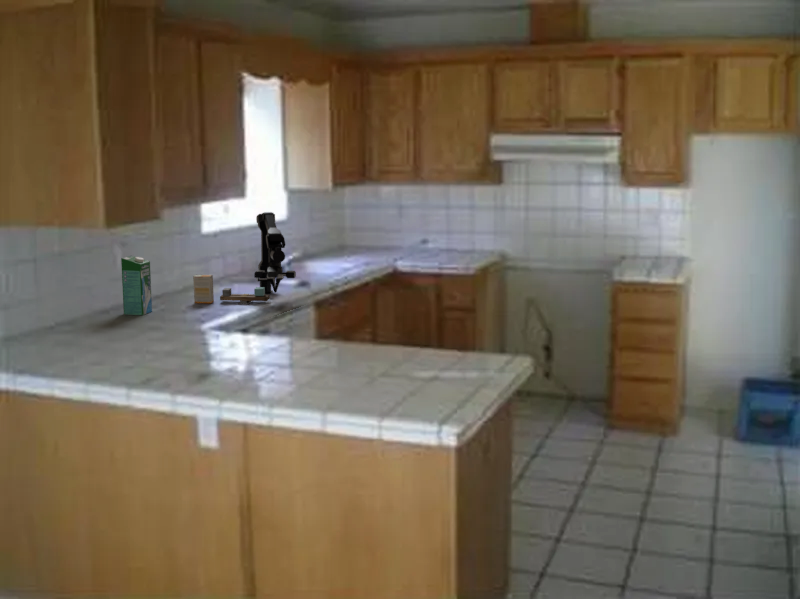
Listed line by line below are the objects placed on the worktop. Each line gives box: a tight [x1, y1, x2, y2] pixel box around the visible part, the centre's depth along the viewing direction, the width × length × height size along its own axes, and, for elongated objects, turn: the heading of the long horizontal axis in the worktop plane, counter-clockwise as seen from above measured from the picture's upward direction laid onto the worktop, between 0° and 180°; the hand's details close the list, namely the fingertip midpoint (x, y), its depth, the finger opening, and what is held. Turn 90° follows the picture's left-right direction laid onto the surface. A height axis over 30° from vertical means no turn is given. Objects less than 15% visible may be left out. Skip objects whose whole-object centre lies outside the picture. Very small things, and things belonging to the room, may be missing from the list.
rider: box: [254, 286, 266, 296], centre depth 432 cm, size 5×4×5 cm
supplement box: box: [192, 274, 215, 305], centre depth 431 cm, size 8×5×13 cm, turn 84°
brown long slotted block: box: [219, 287, 270, 305], centre depth 433 cm, size 9×22×6 cm, turn 88°
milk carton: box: [120, 255, 153, 316], centre depth 405 cm, size 9×9×25 cm
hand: (275, 292), depth 432 cm, fingers closed
